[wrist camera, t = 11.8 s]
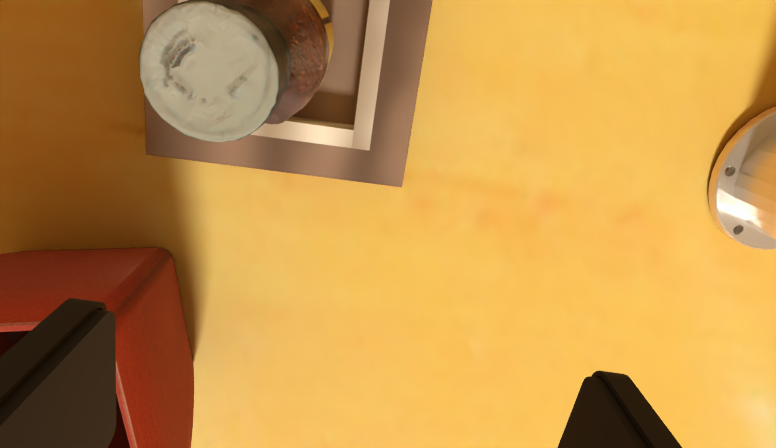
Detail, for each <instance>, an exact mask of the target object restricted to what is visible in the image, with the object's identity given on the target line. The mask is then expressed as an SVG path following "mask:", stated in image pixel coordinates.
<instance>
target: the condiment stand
mask: <svg viewBox="0 0 776 448" xmlns="http://www.w3.org/2000/svg"><path fill="white" fill-rule="evenodd" d="M184 1H188V0H143V38H144V36H145V34H146V31H147V29H148V27H149V25H150V24H151V22H152V21H153V20H154V19H155V18H156V17H157V16H158V15H160V14H161V13H162V12H163V11H165V10H167V9H169V8H170V7H171V6H172V5H174V4H177V3H181V2H184ZM320 1H321V2H322V4H323V5H324V7H325V8H326V10H327V12H328V14H329V17H330V22H332V25H333V31H334V45H333V51H332V55H331V58H330V61H329V64H328V67H327V70H326V74H325V76H324V78H323V81H322V83H321V85H320V86H319V88H318V89H317V91H316V92H315V93H314V95H313V97H312V98H311V100H310V101H309V102H308V103H307V104H306V105H305V106H304V107H303V109H301V110H299V111H298V112H296V113H295V114H294V115H292V116H291V117H290V118H288V119H287V120H286V121H284V122H283V123H280V124H267V123H264V124H263V125H262V126H261V127H260V128H259V129H258V130H256V131H255V132H253V133H252V134H250V135H248V136H246V137H244V138H242V139H240V140H236V141H227V142H221V143H219V142H209V141H204V140H199V139H195V138H192V137H190V136H187V135H184V134H182V133H181V132H180V131H179V130H177V129H176V128H174V127H172V126H171V125H170V124H169V123H167V122H166V121H165V120H163V119H162V118H161V116H160V115H159V114H158V113H157V112H156V111H155V109H154V108H153V107H152V106H151V104H150V102H149V100H148V98H147V97H146V95H145V136H146V155H154V156H162V157H170V158H177V159H185V160H193V161H201V162H209V163H217V164H224V165H232V166H240V167H248V168H256V169H264V170H271V171H279V172H287V173H295V174H303V175H310V176H318V177H326V178H334V179H342V180H350V181H357V182H365V183H373V184H381V185H389V186H397V187H402V183H403V177H404V171H405V165H406V159H407V153H408V147H409V140H410V134H411V128H412V122H413V116H414V110H415V104H416V98H417V92H418V86H419V80H420V73H421V67H422V61H423V55H424V49H425V43H426V37H427V31H428V25H429V19H430V13H431V6H432V0H320Z"/></svg>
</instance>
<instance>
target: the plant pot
mask: <svg viewBox="0 0 776 448" xmlns="http://www.w3.org/2000/svg"><path fill="white" fill-rule="evenodd" d="M69 298H77V299H84V300H92V301H99V302H103V303H105V305H106V307H107V311H112V312H114V314H115V331H116V428H115V432H114V436H113V438H112V441H111V442H110V444H109V446H108V448H191V439H192V427H193V408H194V367H193V361H192V356H191V350H190V345H189V339H188V334H187V329H186V323H185V318H184V312H183V307H182V302H181V296H180V291H179V285H178V280H177V275H176V269H175V263H174V259H173V257H172V254H171V253H170V252H169V251H168V250H165V249H163V248H156V247H154V248H117V249H82V250H45V251H22V252H15V253H8V254H1V255H0V357H1V356H2V355H4V354H5V353H6V352H7V351H8V350H9V349H10V348H12V347H13V346H14V345H15V344H16V343H17V342H18V341H20V340H21V339H22V338H23V337H24V336H25V335H27V334H28V333H29V332H30V331H31V330H32V329H33V328H35V327H36V326H37V325H38V324H39V323H40V322H41V321H43V320H44V319H45V318H46V317H47V316H48V315H50V314H51V313H52V312H53V311H54V310H55V309H56V308H58V307H59V306H60V305H61V304H62V303H63V302H64V301H66V300H67V299H69Z"/></svg>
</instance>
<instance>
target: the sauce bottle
mask: <svg viewBox="0 0 776 448" xmlns="http://www.w3.org/2000/svg"><path fill="white" fill-rule="evenodd" d="M333 45H334V31H333V25H332V22H330V17H329V14H328V12H327V10H326V8H325V7H324V5H323V4H322V2H321V1H320V0H188V1H184V2H181V3H177V4H174V5H172V6H171V7H170V8H169V9H167V10H165V11H163V12H162V13H161V14H160V15H158V16H157V17H156V18H155V19H154V20H153V21H152V22H151V24H150V25H149V27H148V29H147V31H146V34H145V36H144V38H143V42H142V45H141V49H140V53H139V72H140V78H141V81H142V84H143V88H144V93H145V95H146V97H147V98H148V100H149V102H150V104H151V106H152V107H153V108H154V109H155V111H156V112H157V113H158V114H159V115H160V116H161V118H162V119H163V120H165V121H166V122H167V123H169V124H170V125H171V126H172V127H174V128H176V129H177V130H179V131H180V132H181V133H182V134H184V135H187V136H190V137H192V138H195V139H199V140H204V141H209V142H219V143H221V142H227V141H236V140H240V139H242V138H244V137H246V136H248V135H250V134H252V133H253V132H255V131H256V130H258V129H259V128H260V127H261V126H262V125H263V124H264V123H267V124H280V123H283V122H284V121H286V120H287V119H288V118H290V117H291V116H292V115H294V114H295V113H296V112H298V111H299V110H301V109H303V107H304V106H305V105H306V104H307V103H308V102H309V101H310V100H311V98H312V97H313V95H314V93H315V92H316V91H317V89H318V88H319V86H320V85H321V83H322V81H323V78H324V76H325V74H326V70H327V67H328V64H329V61H330V58H331V55H332V51H333Z"/></svg>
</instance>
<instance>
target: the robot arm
mask: <svg viewBox="0 0 776 448" xmlns="http://www.w3.org/2000/svg"><path fill="white" fill-rule="evenodd" d="M708 199H709V206H710V211H711V213H712V216H713V218H714V221H715V222H716V224H717V225H718V226H719V228H720V229H721V230H722V231H723V232H724V233H725V234H726V235H728V236H729V237H730V238H732V239H733V240H735V241H737V242H739V243H741V244H742V245H745V246H748V247H751V248H755V249H763V250H773V249H776V106H775V107H773V108H770V109H768V110H766V111H764V112H762V113H761V114H759V115H757V116H756V117H754V118H753V119H751V120H750V121H749V122H747V123H746V124H745V125H744V126H743V127H742V128H740V129H739V130H738V131H737V132H736V133H735V135H734V136H733V137H732V138H731V139H730V140H729V142H728V143H727V144H726V146H725V147H724V149H723V150H722V152H721V153H720V155H719V157H718V159H717V161H716V163H715V166H714V168H713V170H712V174H711V178H710V183H709V194H708ZM115 428H116V331H115V314H114V312H112V311H107V307H106V305H105V303H103V302H99V301H92V300H84V299H77V298H69V299H67V300H66V301H64V302H63V303H62V304H61V305H60V306H59V307H58V308H56V309H55V310H54V311H53V312H52V313H51V314H50V315H48V316H47V317H46V318H45V319H44V320H43V321H41V322H40V323H39V324H38V325H37V326H36V327H35V328H33V329H32V330H31V331H30V332H29V333H28V334H27V335H25V336H24V337H23V338H22V339H21V340H20V341H18V342H17V343H16V344H15V345H14V346H13V347H12V348H10V349H9V350H8V351H7V352H6V353H5V354H4V355H2V356H1V357H0V448H108V446H109V444H110V442H111V441H112V438H113V436H114V432H115ZM558 448H682V447H681V446H680V444H679V443H678V442H677V440H676V439H675V438H674V436H673V435H672V433H671V432H670V431H669V429H668V428H667V427H666V425H665V424H664V423H663V421H662V420H661V419H660V417H659V416H658V415H657V413H656V412H655V411H654V409H653V408H652V407H651V405H650V404H649V403H648V401H647V400H646V399H645V397H644V396H643V395H642V393H641V392H640V391H639V389H638V388H637V387H636V385H635V384H634V383H633V381H632V380H631V379H630V378H629V377H628V376H627V375H625V374H619V373H612V372H605V371H596V372H595V373H594V374H593V375H592V376H591V377H586V378H585V379H584V381H583V383H582V386H581V388H580V391H579V394H578V396H577V399H576V401H575V404H574V407H573V409H572V412H571V414H570V417H569V420H568V422H567V425H566V427H565V430H564V433H563V435H562V438H561V440H560V443H559V446H558Z"/></svg>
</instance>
